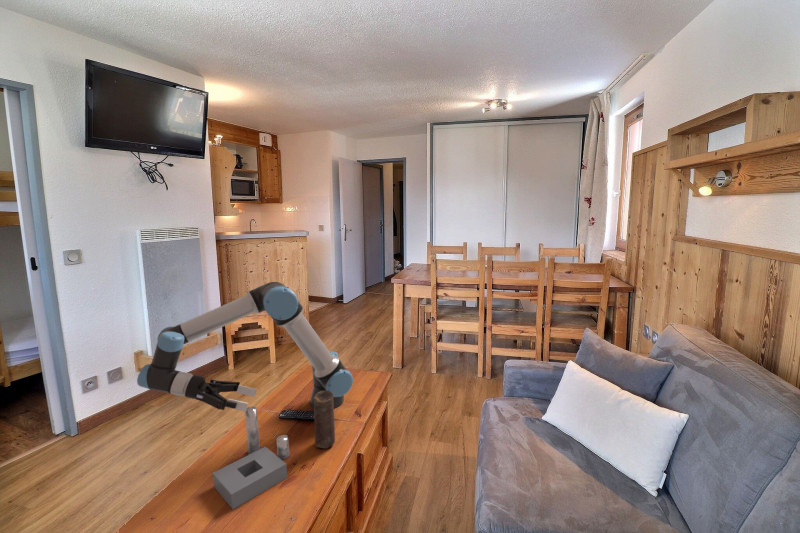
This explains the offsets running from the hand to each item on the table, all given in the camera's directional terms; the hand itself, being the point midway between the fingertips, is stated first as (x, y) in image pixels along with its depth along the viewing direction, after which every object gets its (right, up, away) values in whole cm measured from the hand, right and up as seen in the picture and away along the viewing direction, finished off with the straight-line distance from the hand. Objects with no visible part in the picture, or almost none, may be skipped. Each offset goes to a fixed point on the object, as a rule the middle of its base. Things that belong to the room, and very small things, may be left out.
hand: (251, 399), depth 134 cm
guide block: (+4, -23, -10) cm, 26 cm away
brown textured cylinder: (+24, -20, +9) cm, 33 cm away
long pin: (-1, -21, +5) cm, 22 cm away
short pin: (+10, -21, +3) cm, 24 cm away
